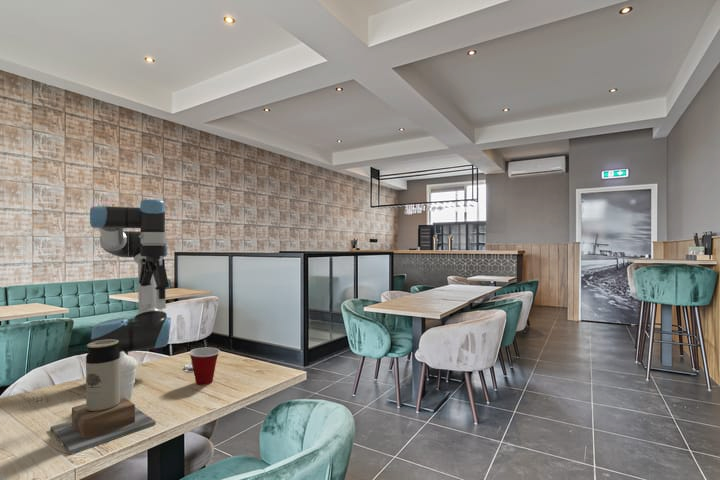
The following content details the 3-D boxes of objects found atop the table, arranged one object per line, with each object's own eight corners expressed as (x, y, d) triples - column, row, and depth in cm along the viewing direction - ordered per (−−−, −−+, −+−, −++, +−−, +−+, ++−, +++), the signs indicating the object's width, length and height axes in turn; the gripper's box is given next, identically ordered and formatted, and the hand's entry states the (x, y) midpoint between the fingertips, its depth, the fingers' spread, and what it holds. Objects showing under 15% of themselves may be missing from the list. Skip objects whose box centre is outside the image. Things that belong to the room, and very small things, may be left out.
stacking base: (50, 430, 106) (50, 408, 106) (129, 406, 121) (129, 387, 122) (70, 454, 93) (69, 430, 93) (155, 424, 109) (155, 403, 109)
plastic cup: (209, 388, 136) (209, 355, 136) (182, 386, 138) (182, 353, 138) (225, 378, 146) (225, 347, 147) (200, 376, 148) (200, 346, 149)
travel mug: (107, 398, 113) (107, 338, 113) (126, 402, 110) (126, 340, 110) (79, 409, 105) (79, 344, 106) (99, 413, 102) (98, 347, 103)
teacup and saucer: (181, 369, 159) (181, 360, 159) (200, 365, 164) (200, 356, 164) (188, 374, 152) (188, 364, 152) (208, 370, 158) (208, 360, 158)
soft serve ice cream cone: (143, 395, 130) (143, 349, 130) (121, 405, 122) (121, 356, 122) (125, 393, 133) (125, 347, 133) (102, 402, 125) (102, 353, 125)
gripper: (128, 244, 136) (129, 303, 136) (154, 245, 119) (155, 312, 119) (151, 244, 141) (151, 301, 141) (179, 244, 125) (179, 309, 125)
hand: (153, 306), depth 130 cm, fingers open, 13 cm apart
